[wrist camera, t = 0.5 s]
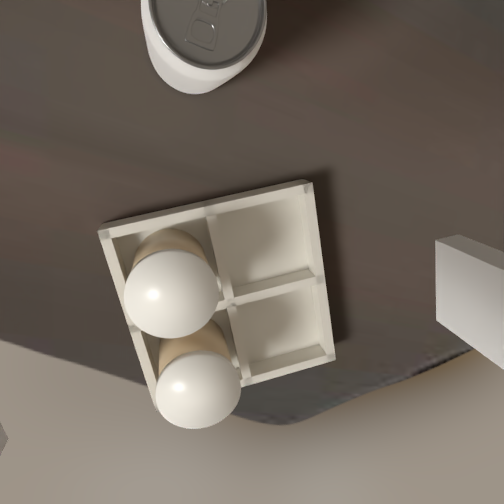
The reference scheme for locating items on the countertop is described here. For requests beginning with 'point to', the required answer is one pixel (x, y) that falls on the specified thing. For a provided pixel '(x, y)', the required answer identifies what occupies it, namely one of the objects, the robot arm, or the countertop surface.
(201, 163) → the countertop surface
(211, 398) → the paper cup
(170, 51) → the can
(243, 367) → the carrier
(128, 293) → the paper cup
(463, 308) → the robot arm
